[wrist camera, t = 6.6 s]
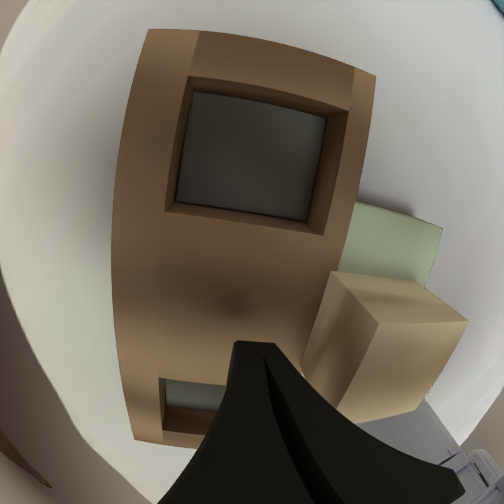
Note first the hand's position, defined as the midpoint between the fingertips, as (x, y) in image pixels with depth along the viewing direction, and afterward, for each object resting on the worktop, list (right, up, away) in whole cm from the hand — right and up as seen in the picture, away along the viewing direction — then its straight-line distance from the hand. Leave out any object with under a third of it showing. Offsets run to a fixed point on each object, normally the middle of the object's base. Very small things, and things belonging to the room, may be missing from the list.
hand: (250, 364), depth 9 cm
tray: (+1, +1, +5) cm, 5 cm away
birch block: (+5, 0, +3) cm, 6 cm away
